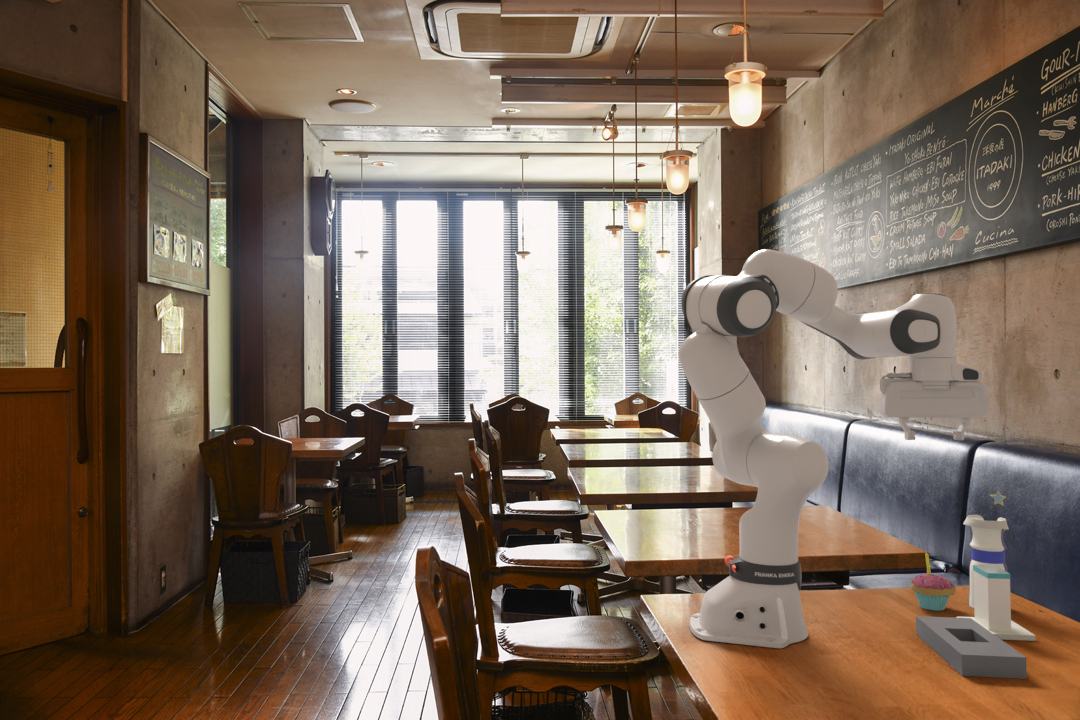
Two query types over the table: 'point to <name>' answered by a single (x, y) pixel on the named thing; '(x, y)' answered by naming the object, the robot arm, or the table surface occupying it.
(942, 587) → the cupcake
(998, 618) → the plug
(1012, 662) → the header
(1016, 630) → the mat
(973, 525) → the water bottle
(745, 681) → the table surface
